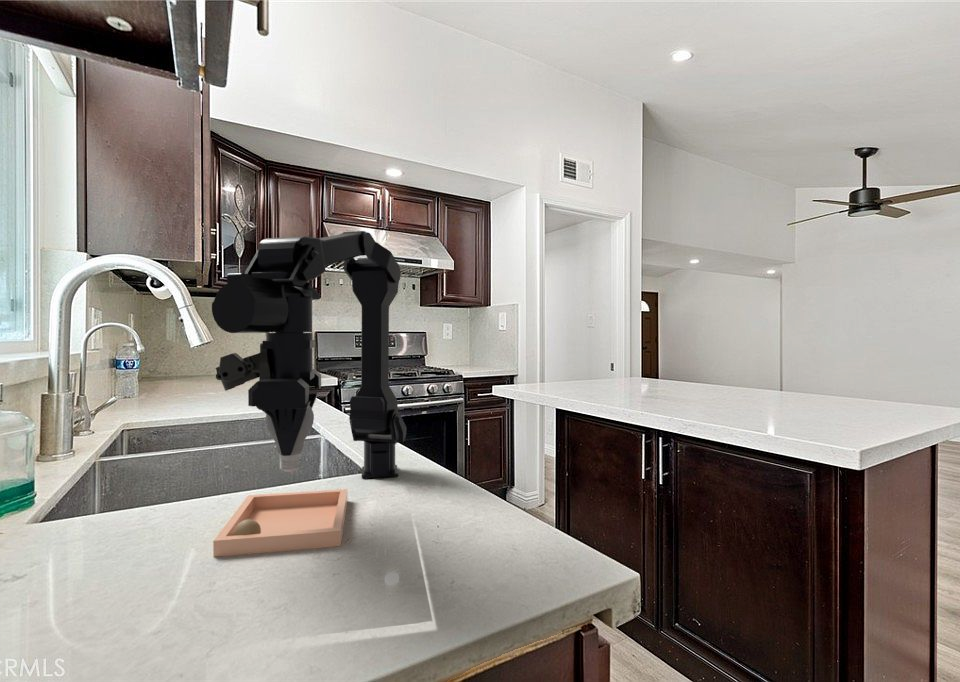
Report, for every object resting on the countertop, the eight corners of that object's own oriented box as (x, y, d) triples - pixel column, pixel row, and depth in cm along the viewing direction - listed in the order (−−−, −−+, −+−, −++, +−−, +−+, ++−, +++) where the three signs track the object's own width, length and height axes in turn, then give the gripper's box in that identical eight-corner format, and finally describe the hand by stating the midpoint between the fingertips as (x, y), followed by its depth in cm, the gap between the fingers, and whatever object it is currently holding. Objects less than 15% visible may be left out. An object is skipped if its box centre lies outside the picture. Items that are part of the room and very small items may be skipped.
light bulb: (274, 480, 61) (273, 400, 61) (260, 470, 66) (259, 395, 65) (321, 472, 65) (320, 396, 65) (304, 462, 69) (304, 392, 69)
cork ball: (237, 540, 60) (237, 516, 60) (263, 538, 61) (263, 514, 61) (230, 551, 57) (230, 525, 57) (257, 549, 58) (257, 523, 58)
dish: (248, 511, 72) (248, 495, 72) (347, 504, 75) (347, 488, 75) (213, 561, 56) (213, 540, 56) (340, 550, 59) (340, 530, 59)
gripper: (242, 332, 72) (243, 437, 73) (197, 333, 54) (199, 474, 54) (321, 332, 75) (321, 434, 75) (304, 333, 56) (305, 468, 57)
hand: (290, 450), depth 65 cm, fingers closed on light bulb, 5 cm apart
